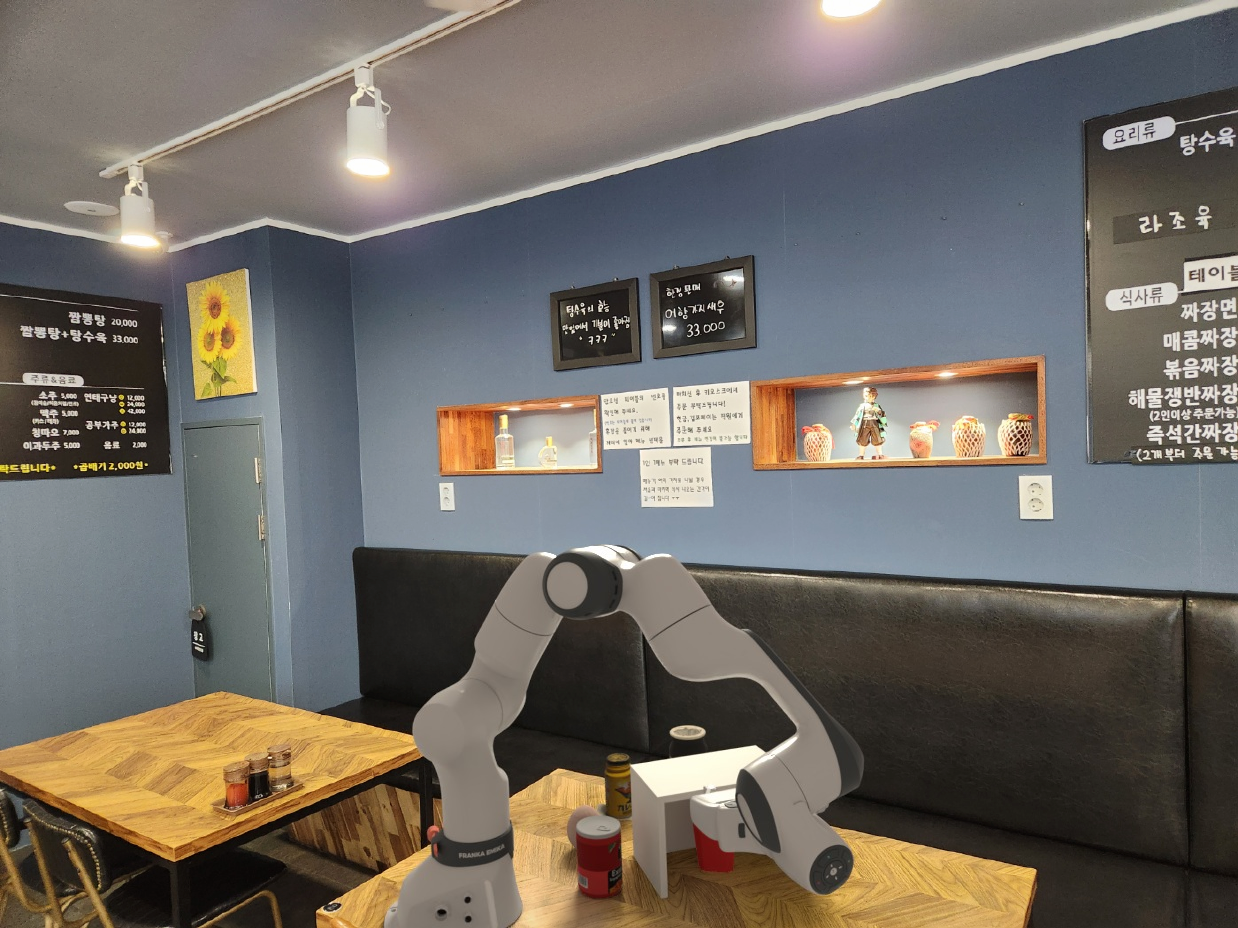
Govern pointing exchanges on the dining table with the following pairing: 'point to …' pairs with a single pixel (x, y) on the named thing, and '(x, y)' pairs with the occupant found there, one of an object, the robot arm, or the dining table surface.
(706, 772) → the white step stool
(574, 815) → the egg
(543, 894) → the dining table surface
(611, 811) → the condiment
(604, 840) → the canned food
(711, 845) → the french fries
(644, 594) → the robot arm
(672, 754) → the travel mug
